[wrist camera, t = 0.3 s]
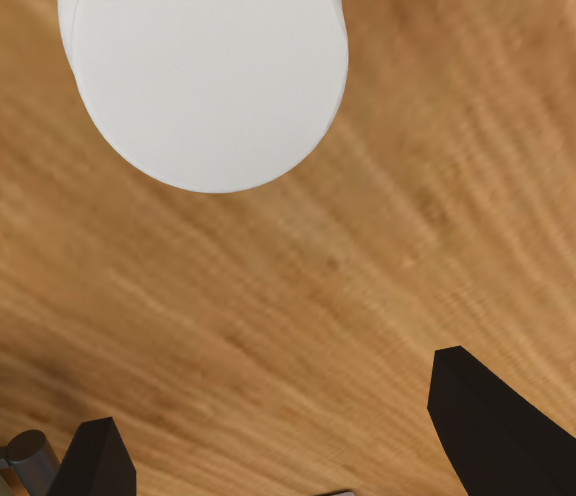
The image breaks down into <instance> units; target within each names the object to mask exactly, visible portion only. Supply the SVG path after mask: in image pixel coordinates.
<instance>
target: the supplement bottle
mask: <svg viewBox="0 0 576 496" xmlns="http://www.w3.org/2000/svg"><path fill="white" fill-rule="evenodd" d="M58 18H59V27H60V32H61V37H62V41H63V45H64V49H65V53H66V56H67V58H68V61H69V64H70V66H71V69H72V71H73V73H74V75H75V79H76V82H77V86H78V90H79V93H80V95H81V98H82V100H83V102H84V105H85V107H86V109H87V111H88V113H89V115H90V117H91V118H92V120H93V122H94V124H95V125H96V127H97V128H98V130H99V131H100V133H101V134H102V136H103V137H104V138H105V139H106V140H107V142H108V143H109V144H110V145H111V146H112V147H113V148H114V149H115V150H116V151H117V152H118V153H119V154H120V155H121V156H122V157H123V158H124V159H125V160H127V161H128V162H129V163H130V164H132V165H133V166H135V167H136V168H138V169H139V170H141V171H142V172H144V173H145V174H147V175H149V176H151V177H153V178H155V179H157V180H159V181H161V182H163V183H166V184H169V185H171V186H174V187H178V188H181V189H185V190H188V191H195V192H202V193H231V192H237V191H242V190H247V189H251V188H254V187H257V186H260V185H263V184H265V183H268V182H270V181H272V180H274V179H276V178H278V177H280V176H281V175H283V174H284V173H286V172H288V171H289V170H291V169H292V168H293V167H295V166H296V165H297V164H299V163H300V162H301V161H302V160H303V159H304V158H305V157H306V156H307V155H308V154H309V153H310V152H312V150H313V149H314V148H315V147H316V146H317V145H318V143H319V142H320V140H321V139H322V138H323V136H324V135H325V133H326V132H327V130H328V129H329V127H330V125H331V123H332V121H333V119H334V117H335V115H336V113H337V110H338V108H339V106H340V103H341V100H342V97H343V93H344V89H345V84H346V79H347V72H348V37H347V31H346V26H345V21H344V16H343V12H342V0H58Z"/></svg>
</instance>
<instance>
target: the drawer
mask: <svg viewBox="0 0 576 496" xmlns="http://www.w3.org/2000/svg"><path fill="white" fill-rule="evenodd" d="M10 466H12V468H13V470H14V471H15V473H16V474H17V476H18V477H19V479H20V481H21V482H22V484H23V485H24V487H25V488H26V490H27V492H28V493H29V495H30V496H45V494H46V492H47V490H48V488H49V486H50V484H51V482H52V480H53V478H54V477H55V475H56V473H57V471H58V469H59V466H60V462H59V460H58V458H57V457H56V455H55V453H54V451H53V449H52V447H51V445H50V443H49V442H48V440H47V438H46V436H45V434H44V433H43V432H41V431H39V430H28V431H25V432H22V433H20V434H19V435H17V436H16V437H15V438H13V439H12V440H11V442H10V443H9V444H8V446H5V447H0V469H5V468H9V467H10ZM0 496H15V495H14V493H13V492H12V490H11V489H10V487H9V486H8V484H7V483H6V481H5V480H4V478H3V477H2V475H1V474H0Z"/></svg>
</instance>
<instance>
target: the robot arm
mask: <svg viewBox="0 0 576 496" xmlns="http://www.w3.org/2000/svg"><path fill="white" fill-rule="evenodd" d="M427 409H428V412H429V414H430V417H431V419H432V422H433V424H434V427H435V429H436V432H437V434H438V437H439V439H440V441H441V444H442V446H443V448H444V451H445V453H446V455H447V457H448V458H449V460H450V462H451V464H452V466H453V468H454V470H455V471H456V473H457V475H458V477H459V479H460V481H461V482H462V484H463V486H464V488H465V490H466V492H467V493H468V495H469V496H576V438H574V437H573V436H572V435H570V434H569V433H568V432H566V431H565V430H564V429H562V428H561V427H560V426H558V425H557V424H556V423H554V422H553V421H552V420H551V419H549V418H548V417H547V416H545V415H544V414H543V413H542V412H540V411H539V410H538V409H537V408H535V407H534V406H533V405H531V404H530V403H529V402H528V401H526V400H525V399H524V398H523V397H522V396H520V395H519V394H518V393H517V392H515V391H514V390H513V389H512V388H511V387H509V386H508V385H507V384H506V383H505V382H503V381H502V380H501V379H500V378H499V377H497V376H496V375H495V374H494V373H493V372H491V371H490V370H489V369H488V368H487V367H486V366H484V365H483V364H482V363H481V362H480V361H478V360H477V359H476V358H475V357H474V356H473V355H471V354H470V353H469V352H468V351H467V350H465V349H464V348H463V347H462V346H455V347H450V348H446V349H441V350H436V351H435V355H434V362H433V369H432V377H431V384H430V391H429V398H428V406H427ZM45 496H136V470H135V468H134V466H133V463H132V461H131V459H130V457H129V454H128V452H127V450H126V448H125V445H124V443H123V441H122V439H121V436H120V434H119V432H118V430H117V427H116V425H115V423H114V421H113V418H112V417H108V418H103V419H98V420H93V421H88V422H83V423H81V425H80V426H79V427H78V429H77V431H76V433H75V435H74V437H73V439H72V442H71V444H70V446H69V448H68V450H67V452H66V454H65V456H64V458H63V460H62V462H61V464H60V466H59V469H58V471H57V473H56V475H55V477H54V478H53V480H52V482H51V484H50V486H49V488H48V490H47V492H46V494H45ZM332 496H354V493H352V492H345V493H341V494H336V495H332Z"/></svg>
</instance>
